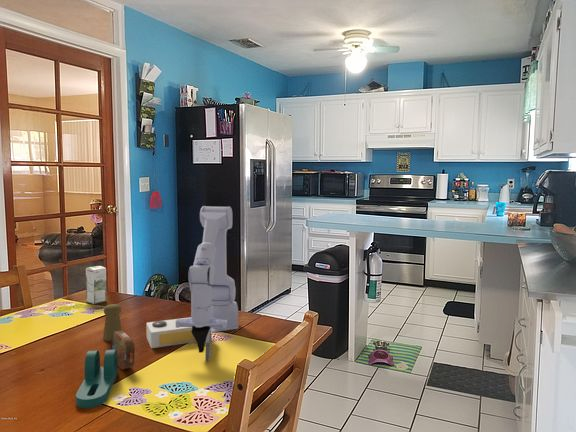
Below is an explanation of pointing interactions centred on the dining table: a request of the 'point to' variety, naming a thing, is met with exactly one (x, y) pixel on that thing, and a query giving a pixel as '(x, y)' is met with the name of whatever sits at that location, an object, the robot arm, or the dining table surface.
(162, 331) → the camera housing
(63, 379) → the dining table surface
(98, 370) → the bracket
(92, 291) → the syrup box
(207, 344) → the side door
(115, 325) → the olive flared pepper mill
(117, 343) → the brown rounded piece
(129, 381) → the dining table surface
